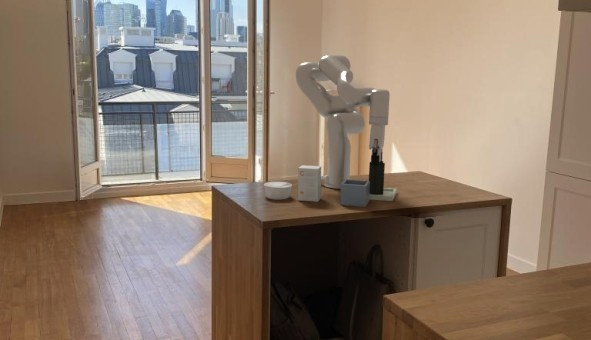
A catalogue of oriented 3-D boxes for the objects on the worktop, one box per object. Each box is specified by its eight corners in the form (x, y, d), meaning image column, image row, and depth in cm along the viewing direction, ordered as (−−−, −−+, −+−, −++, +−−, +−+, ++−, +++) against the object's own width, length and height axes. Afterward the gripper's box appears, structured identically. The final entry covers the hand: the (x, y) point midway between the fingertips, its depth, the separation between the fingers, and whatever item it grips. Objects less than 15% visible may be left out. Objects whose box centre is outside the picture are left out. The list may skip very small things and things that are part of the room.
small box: (321, 198, 237) (321, 166, 235) (317, 202, 231) (318, 168, 229) (301, 197, 239) (301, 164, 237) (297, 200, 233) (297, 167, 231)
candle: (373, 195, 240) (376, 133, 235) (367, 192, 245) (369, 131, 240) (384, 194, 242) (387, 133, 237) (377, 191, 247) (380, 131, 242)
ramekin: (292, 200, 234) (292, 187, 233) (263, 200, 233) (264, 187, 232) (290, 194, 245) (291, 181, 244) (263, 194, 244) (263, 181, 243)
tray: (354, 198, 238) (354, 193, 238) (360, 190, 252) (360, 186, 252) (392, 201, 234) (392, 196, 234) (396, 193, 249) (396, 188, 248)
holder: (340, 204, 227) (340, 184, 226) (344, 199, 236) (345, 179, 235) (365, 206, 225) (366, 185, 223) (369, 201, 234) (369, 180, 233)
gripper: (372, 118, 247) (370, 159, 250) (365, 122, 231) (363, 166, 234) (390, 119, 245) (388, 160, 248) (385, 123, 229) (383, 167, 232)
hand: (376, 163), depth 241 cm, fingers open, 9 cm apart
